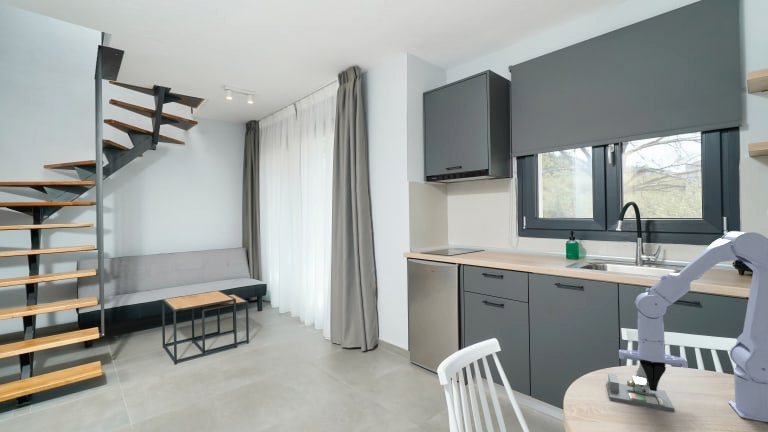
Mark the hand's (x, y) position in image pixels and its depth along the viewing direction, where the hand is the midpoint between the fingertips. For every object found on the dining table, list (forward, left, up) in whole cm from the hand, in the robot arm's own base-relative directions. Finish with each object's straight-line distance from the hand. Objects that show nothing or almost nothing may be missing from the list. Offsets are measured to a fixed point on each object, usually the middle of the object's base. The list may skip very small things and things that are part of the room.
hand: (652, 389), depth 94 cm
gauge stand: (+4, +2, -2) cm, 4 cm away
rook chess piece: (0, -12, -2) cm, 12 cm away
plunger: (+3, +2, -1) cm, 4 cm away
